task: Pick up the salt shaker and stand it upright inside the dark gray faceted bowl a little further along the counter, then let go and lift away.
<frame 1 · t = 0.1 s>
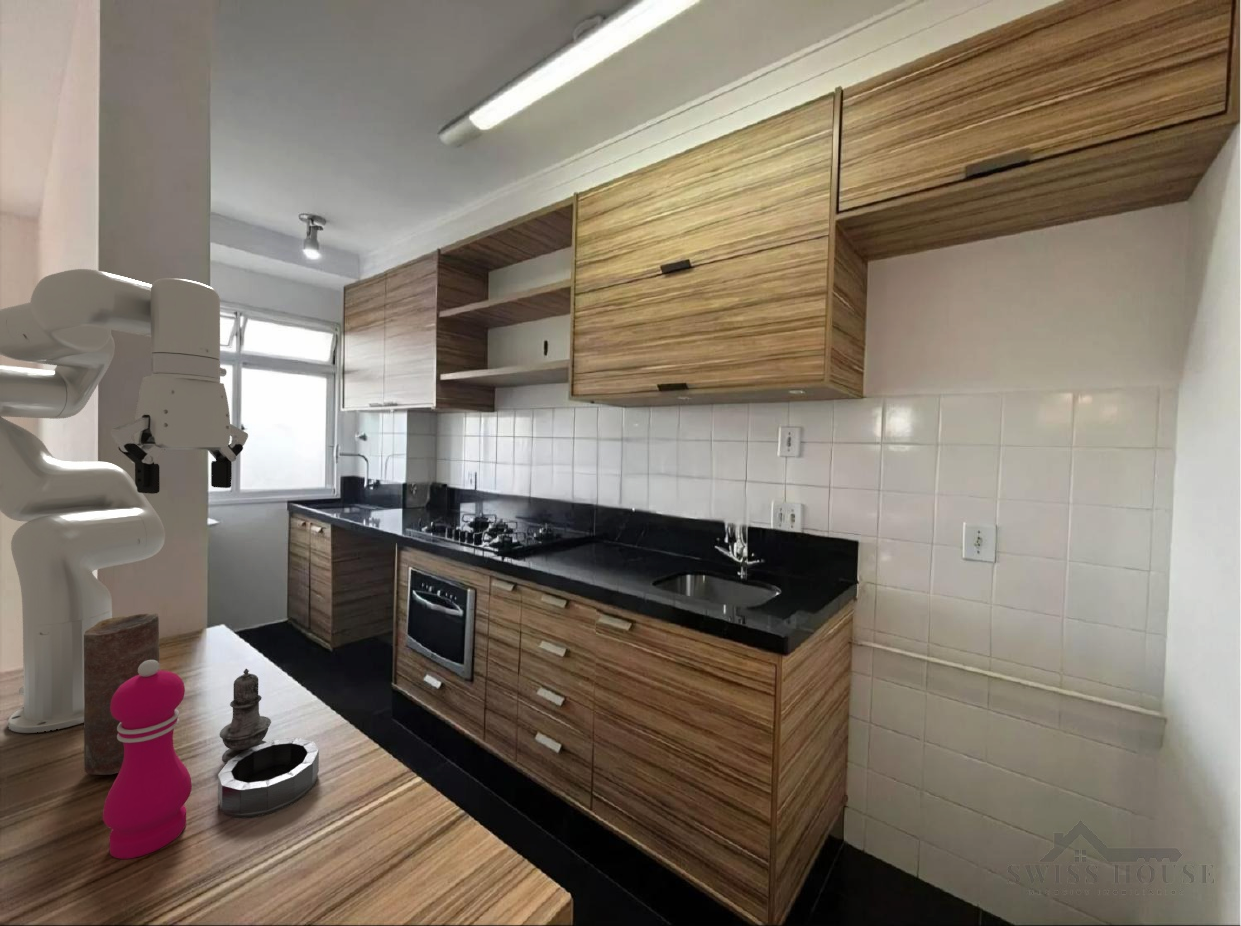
hand: (187, 489, 73), 37 cm above the countertop, tool pointing down, fingers open, 9 cm apart
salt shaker: (245, 753, 72), on the countertop
pepper mill: (149, 838, 57), on the countertop
dark gray faceted bowl: (270, 788, 65), on the countertop
candle: (123, 767, 68), on the countertop
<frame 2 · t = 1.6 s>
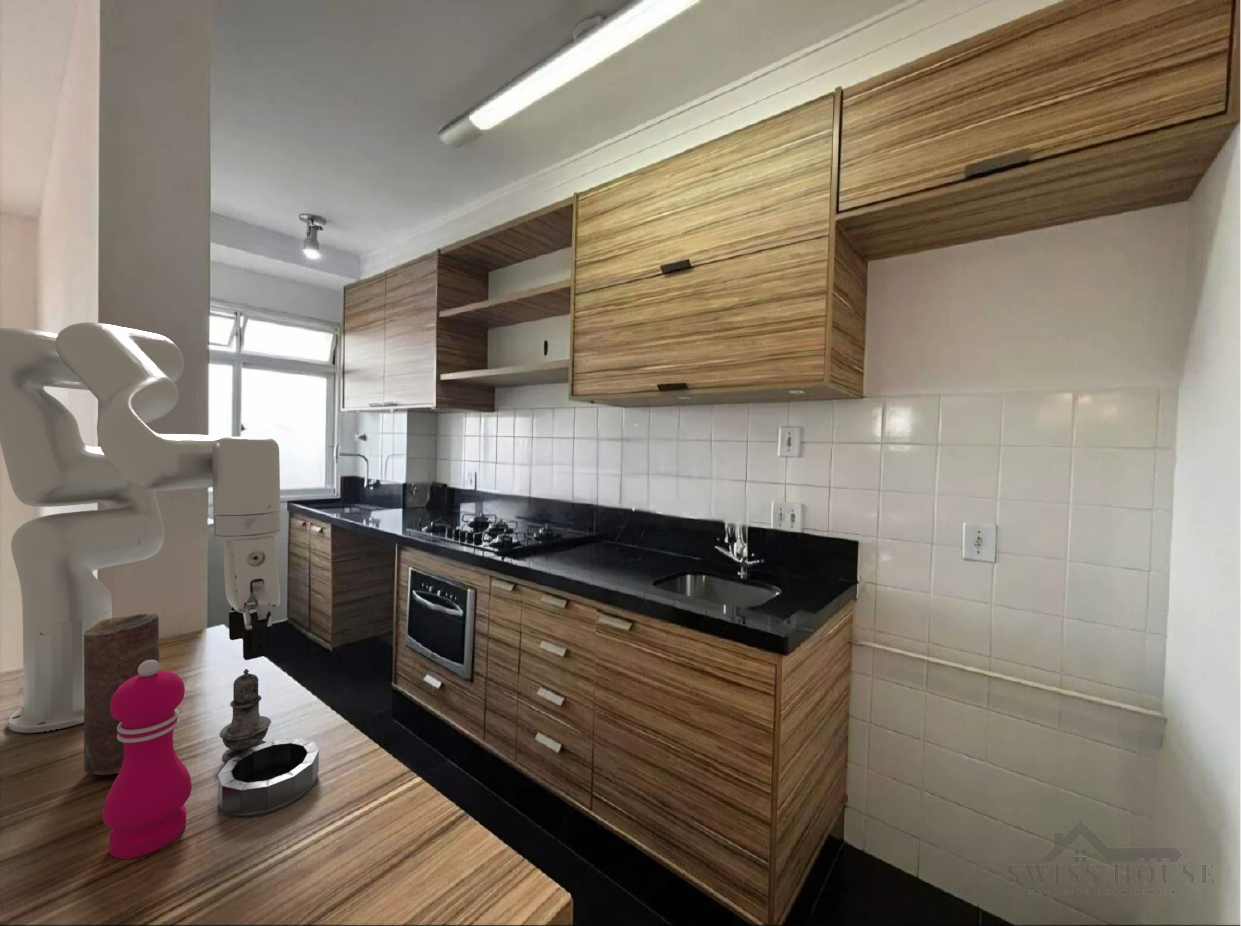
hand: (250, 646, 71), 15 cm above the countertop, tool pointing down, fingers open, 9 cm apart
nothing on the countertop moved.
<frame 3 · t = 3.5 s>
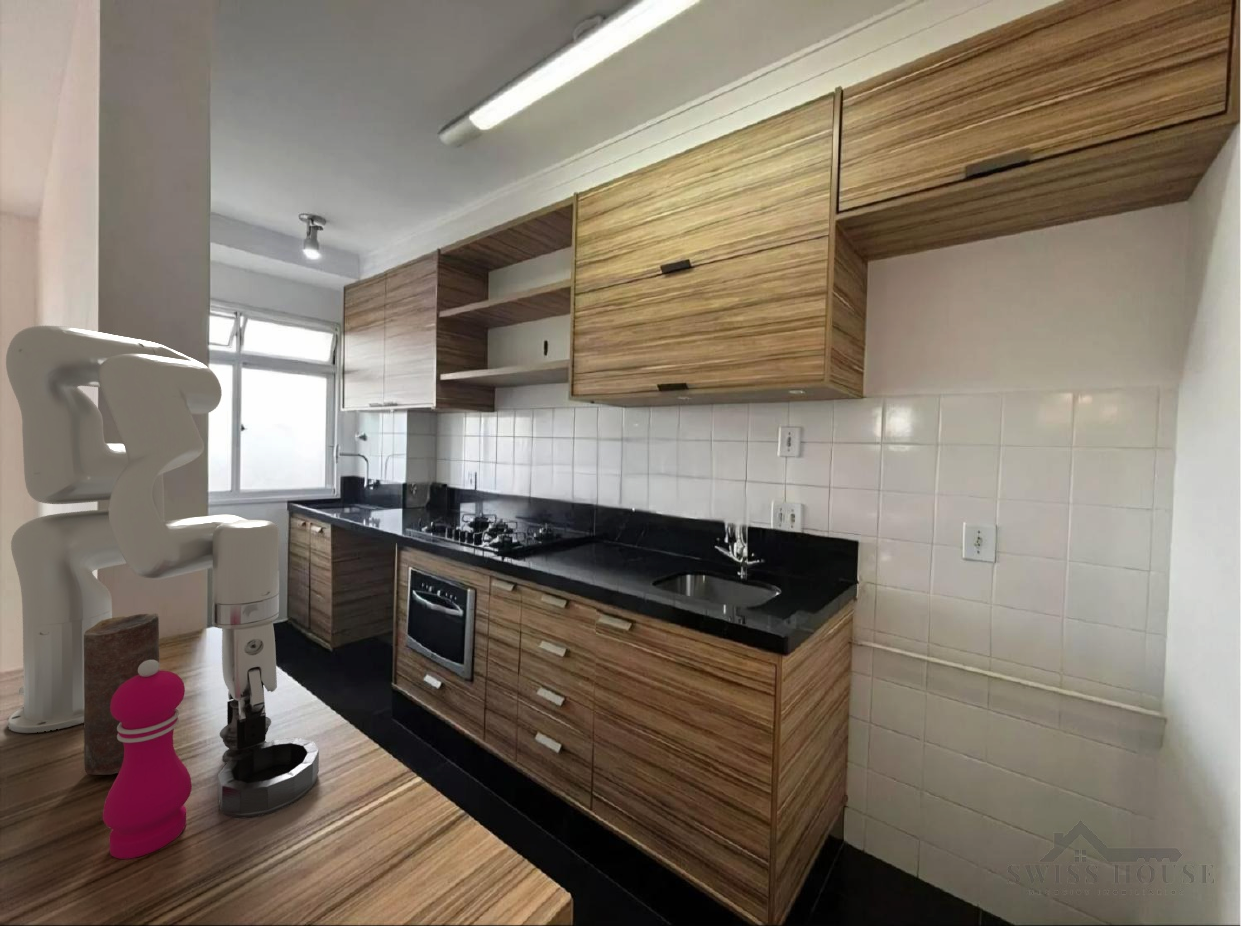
hand: (246, 733, 72), 3 cm above the countertop, tool pointing down, fingers closed on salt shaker, 5 cm apart
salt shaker: (245, 753, 72), on the countertop, touching gripper
everything else where it was.
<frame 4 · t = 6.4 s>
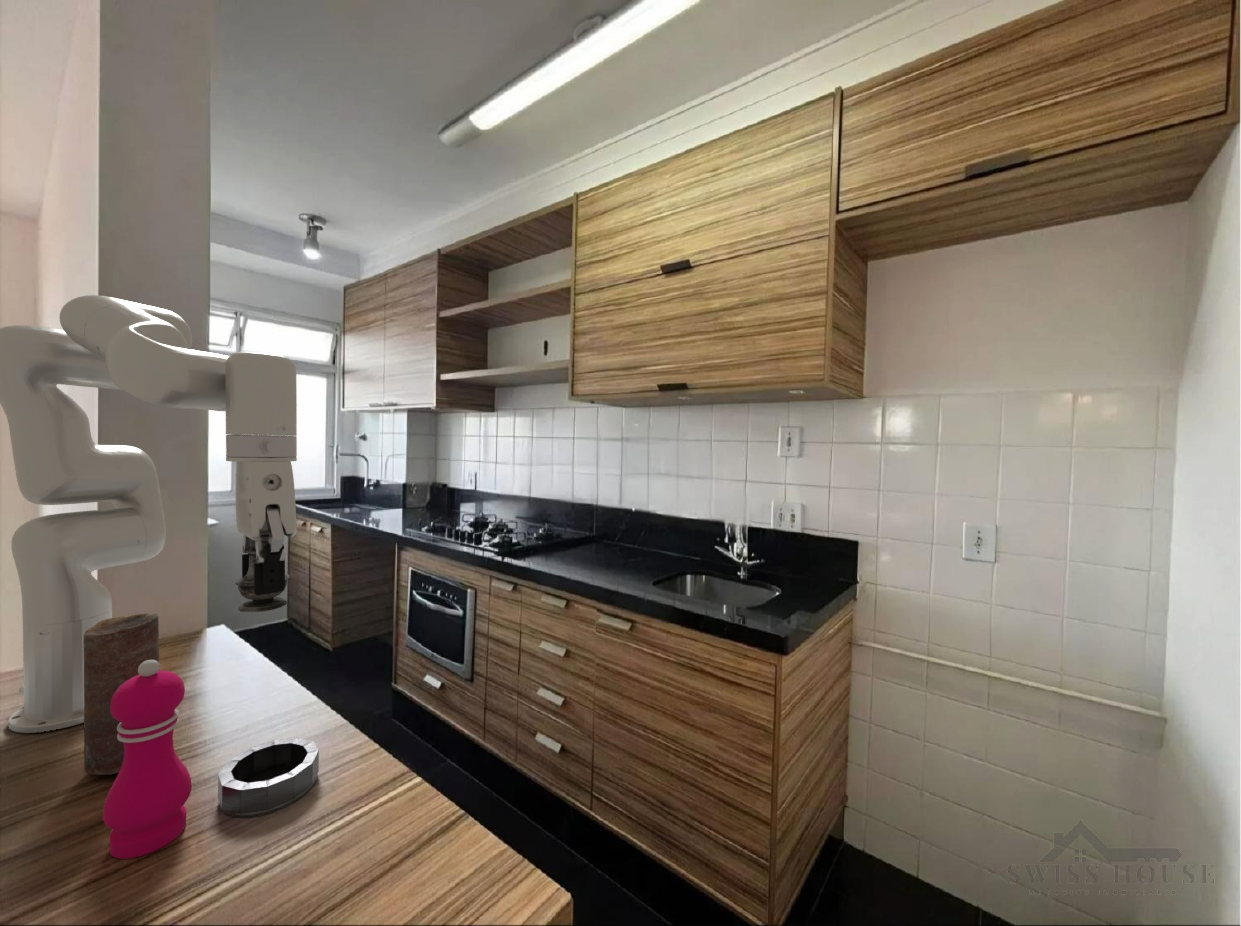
hand: (263, 586, 67), 25 cm above the countertop, tool pointing down, fingers closed on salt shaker, 5 cm apart
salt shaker: (263, 607, 67), point 22 cm above the countertop, touching gripper
everything else where it was.
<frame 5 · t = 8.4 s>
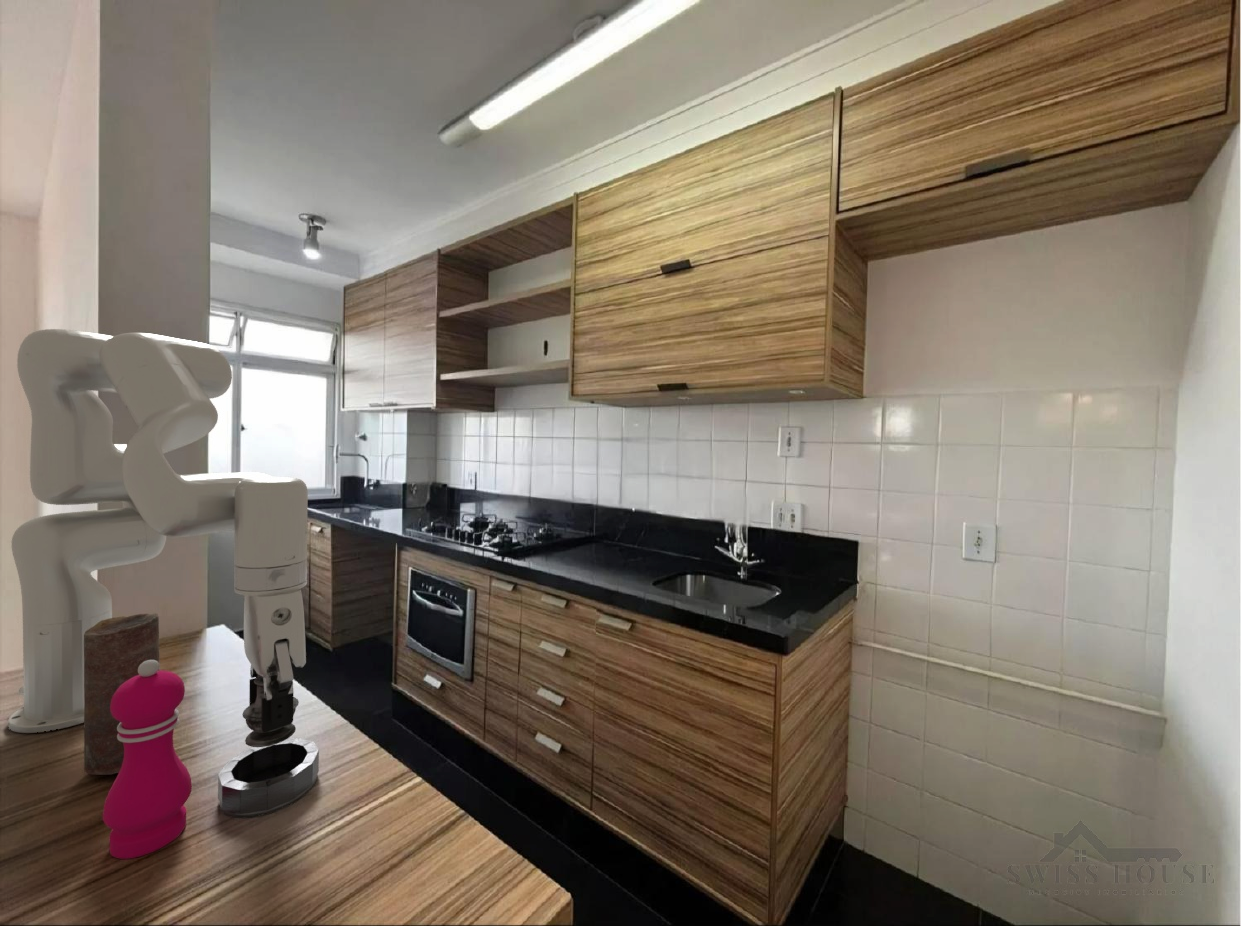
hand: (270, 715, 64), 10 cm above the countertop, tool pointing down, fingers closed on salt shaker, 5 cm apart
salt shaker: (271, 736, 65), point 7 cm above the countertop, touching gripper
everything else where it was.
when the fingers open (5 cm above the countertop, at t = 9.8 s): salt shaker drops 1 cm, resting on dark gray faceted bowl.
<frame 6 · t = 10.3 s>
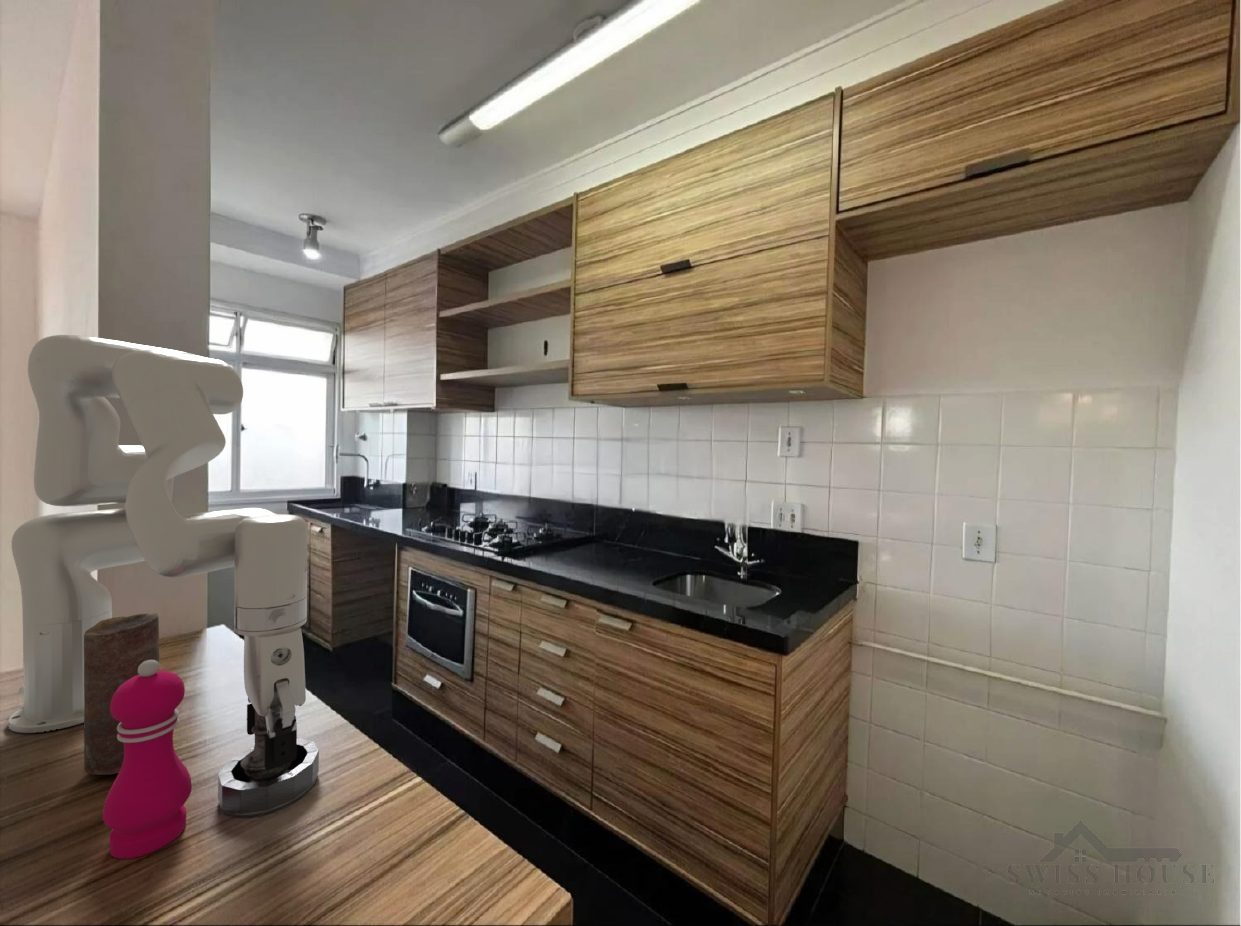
hand: (270, 746, 65), 6 cm above the countertop, tool pointing down, fingers open, 9 cm apart
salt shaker: (269, 784, 65), point 1 cm above the countertop, touching dark gray faceted bowl
everything else where it was.
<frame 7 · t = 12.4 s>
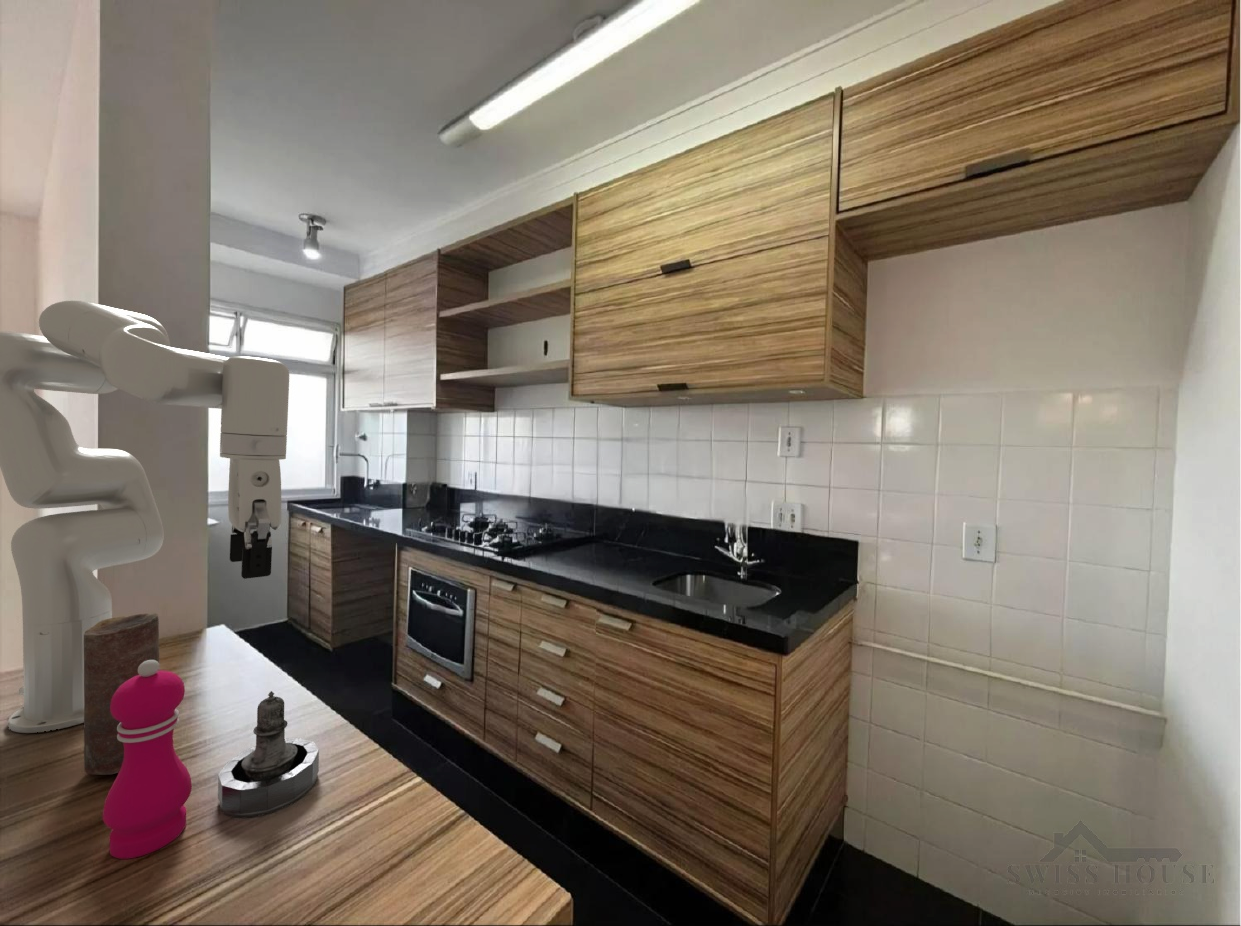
hand: (249, 568, 72), 26 cm above the countertop, tool pointing down, fingers open, 9 cm apart
nothing on the countertop moved.
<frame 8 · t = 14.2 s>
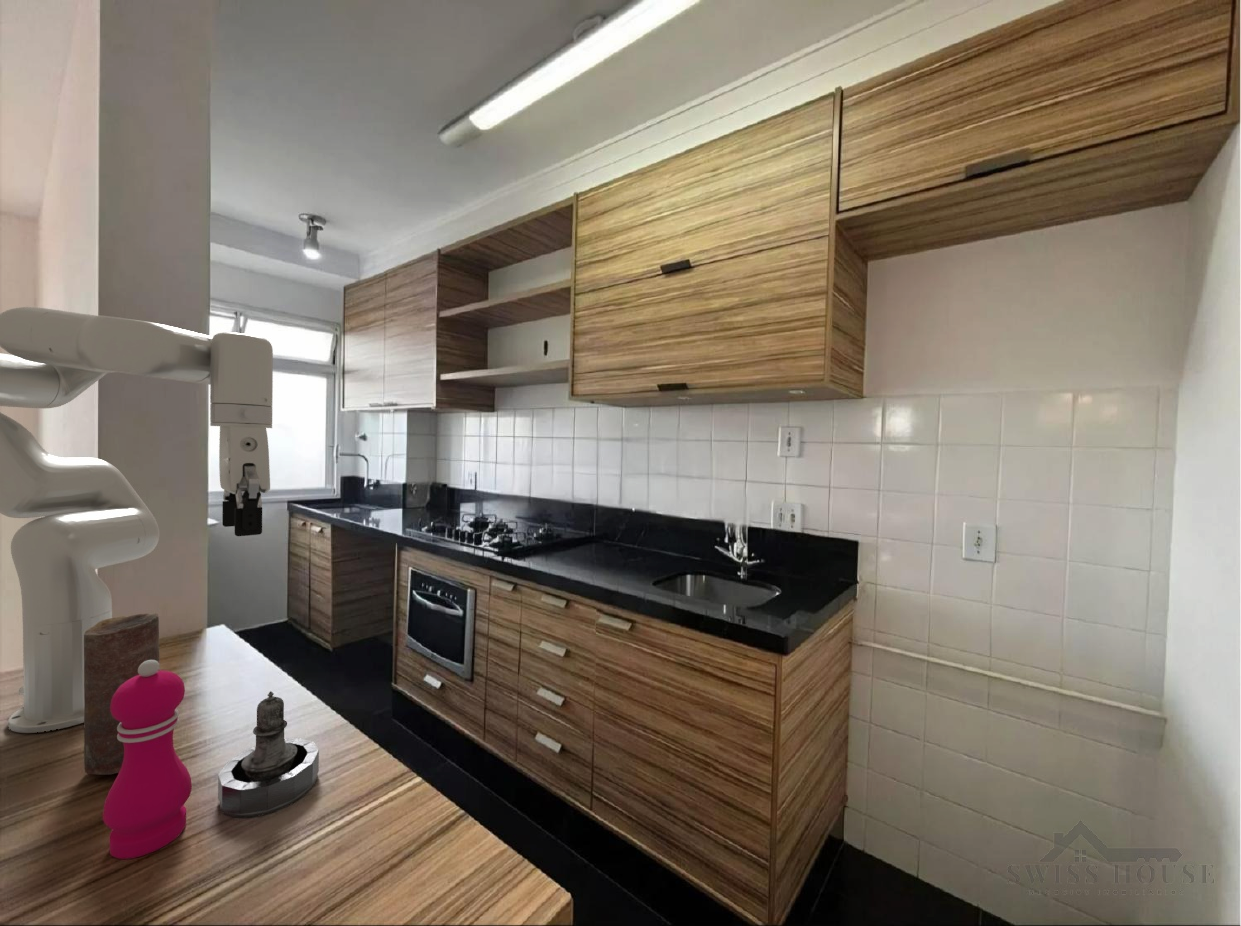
hand: (241, 530, 77), 30 cm above the countertop, tool pointing down, fingers open, 9 cm apart
nothing on the countertop moved.
at the end: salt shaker 0.1 cm off-centre on the dark gray faceted bowl, point 0.4 cm above the dark gray faceted bowl's base; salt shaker tilted 0°; the gripper is holding nothing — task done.
